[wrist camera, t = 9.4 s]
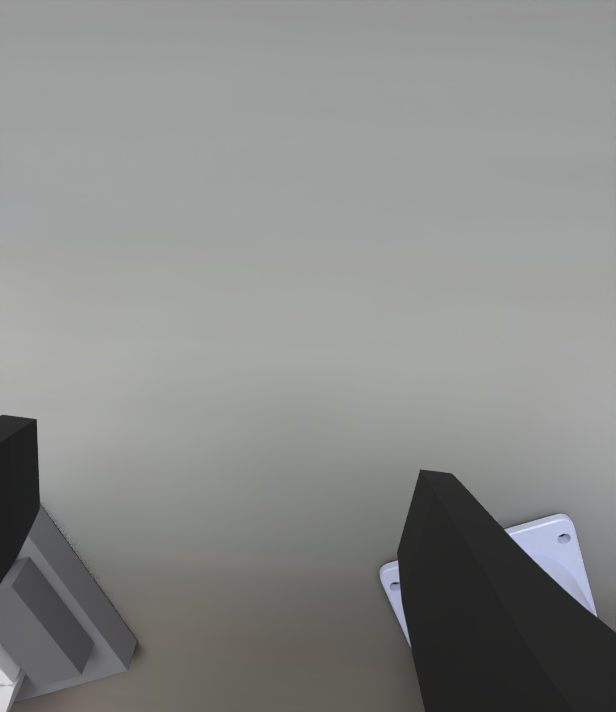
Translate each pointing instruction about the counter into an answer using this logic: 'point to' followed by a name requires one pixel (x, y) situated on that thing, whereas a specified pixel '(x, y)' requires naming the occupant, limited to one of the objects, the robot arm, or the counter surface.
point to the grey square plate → (55, 621)
